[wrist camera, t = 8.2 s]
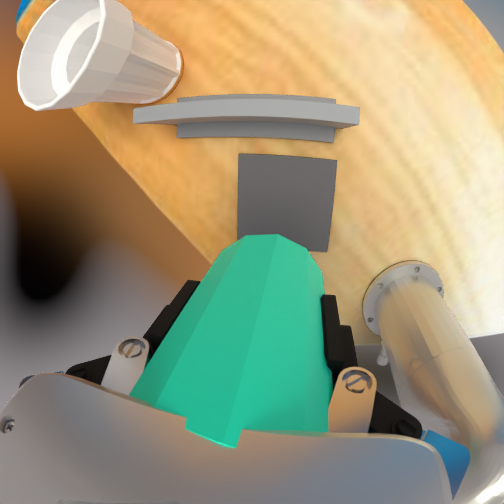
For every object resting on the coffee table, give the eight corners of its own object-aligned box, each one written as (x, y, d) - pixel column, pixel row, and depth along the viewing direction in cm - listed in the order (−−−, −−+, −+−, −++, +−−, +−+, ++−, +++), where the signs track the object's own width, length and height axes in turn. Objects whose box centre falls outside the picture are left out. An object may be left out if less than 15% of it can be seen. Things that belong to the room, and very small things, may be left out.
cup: (104, 88, 29) (5, 83, 13) (151, 22, 25) (64, -21, 9) (155, 128, 31) (51, 135, 15) (211, 57, 26) (132, 1, 10)
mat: (326, 249, 33) (327, 252, 33) (238, 241, 35) (237, 244, 34) (336, 160, 29) (337, 160, 28) (240, 153, 31) (238, 153, 30)
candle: (338, 247, 13) (386, 528, 2) (306, 340, 15) (288, 549, 5) (217, 221, 14) (36, 438, 3) (207, 317, 16) (115, 505, 5)
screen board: (341, 143, 28) (357, 145, 20) (172, 138, 31) (133, 141, 23) (343, 101, 26) (360, 87, 18) (173, 99, 29) (133, 91, 21)
